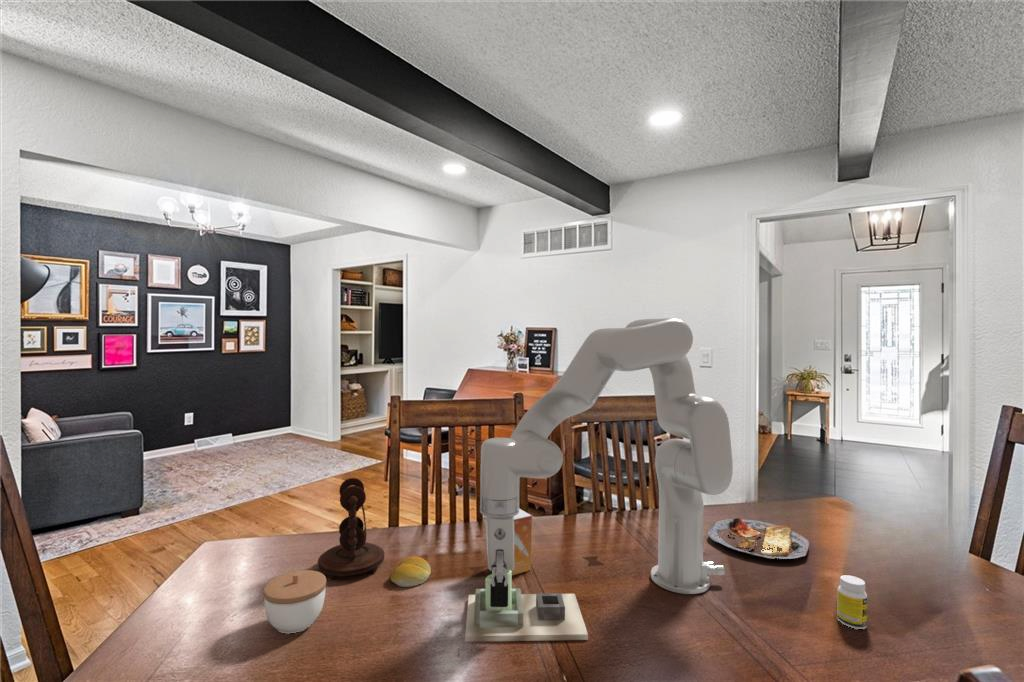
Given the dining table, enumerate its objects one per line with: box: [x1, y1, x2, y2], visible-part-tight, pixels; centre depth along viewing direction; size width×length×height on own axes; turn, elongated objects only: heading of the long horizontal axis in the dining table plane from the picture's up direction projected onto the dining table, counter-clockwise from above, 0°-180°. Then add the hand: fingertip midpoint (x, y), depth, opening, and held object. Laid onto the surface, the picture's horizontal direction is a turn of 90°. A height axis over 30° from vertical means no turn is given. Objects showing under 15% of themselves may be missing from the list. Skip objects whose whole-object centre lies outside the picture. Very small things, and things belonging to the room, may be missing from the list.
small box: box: [507, 508, 533, 576], centre depth 115 cm, size 8×6×13 cm
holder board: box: [464, 587, 589, 643], centre depth 95 cm, size 22×14×4 cm, turn 92°
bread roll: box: [390, 556, 432, 588], centre depth 110 cm, size 8×9×4 cm
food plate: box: [707, 517, 810, 560], centre depth 132 cm, size 25×23×4 cm
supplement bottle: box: [836, 574, 868, 630], centre depth 95 cm, size 5×5×8 cm
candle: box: [484, 570, 513, 611], centre depth 94 cm, size 5×5×8 cm
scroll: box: [317, 477, 385, 580], centre depth 115 cm, size 15×15×20 cm
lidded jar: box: [263, 569, 327, 635], centre depth 92 cm, size 11×11×9 cm
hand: (498, 592), depth 95 cm, fingers open, 9 cm apart
